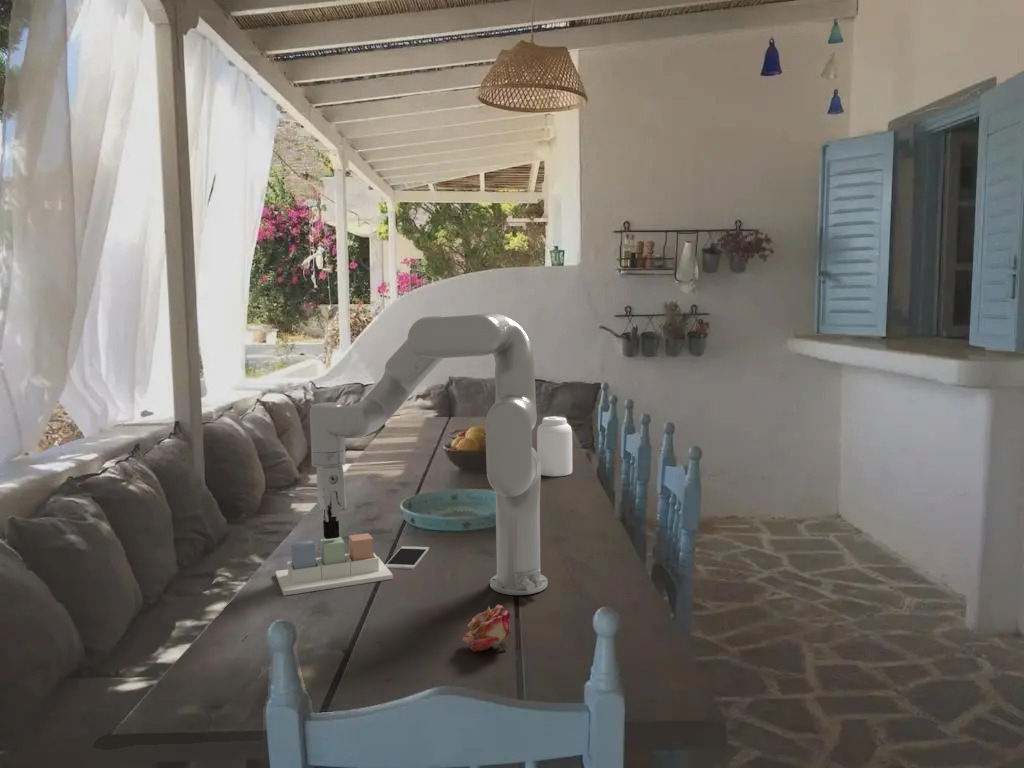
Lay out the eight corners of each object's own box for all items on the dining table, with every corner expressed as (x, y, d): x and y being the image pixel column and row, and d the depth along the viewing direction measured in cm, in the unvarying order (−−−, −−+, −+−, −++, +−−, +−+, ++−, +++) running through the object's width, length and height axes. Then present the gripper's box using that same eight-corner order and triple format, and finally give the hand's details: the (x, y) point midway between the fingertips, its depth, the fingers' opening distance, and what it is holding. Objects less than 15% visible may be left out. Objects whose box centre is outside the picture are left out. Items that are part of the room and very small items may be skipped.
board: (393, 578, 183) (392, 561, 183) (283, 595, 174) (282, 577, 174) (378, 560, 196) (377, 544, 196) (275, 575, 187) (274, 558, 186)
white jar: (531, 471, 291) (530, 416, 289) (562, 468, 297) (561, 413, 294) (547, 478, 280) (546, 421, 278) (578, 474, 285) (578, 418, 283)
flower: (523, 629, 150) (498, 594, 151) (526, 640, 141) (499, 603, 142) (481, 661, 150) (456, 626, 150) (481, 674, 140) (454, 636, 141)
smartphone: (429, 550, 205) (429, 546, 205) (413, 570, 190) (413, 566, 190) (402, 549, 206) (402, 545, 206) (383, 569, 191) (383, 565, 191)
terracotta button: (373, 559, 186) (372, 538, 185) (353, 562, 184) (352, 541, 184) (369, 553, 190) (368, 533, 190) (349, 556, 188) (348, 535, 188)
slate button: (316, 567, 181) (315, 546, 180) (295, 570, 179) (293, 548, 179) (312, 561, 185) (311, 540, 185) (292, 564, 183) (291, 543, 183)
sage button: (345, 563, 183) (344, 542, 183) (324, 566, 182) (323, 545, 181) (341, 557, 188) (340, 536, 187) (321, 560, 186) (320, 539, 185)
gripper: (352, 462, 177) (355, 544, 179) (339, 450, 190) (341, 526, 192) (317, 465, 174) (320, 549, 176) (306, 453, 187) (309, 530, 189)
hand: (331, 537), depth 184 cm, fingers closed
